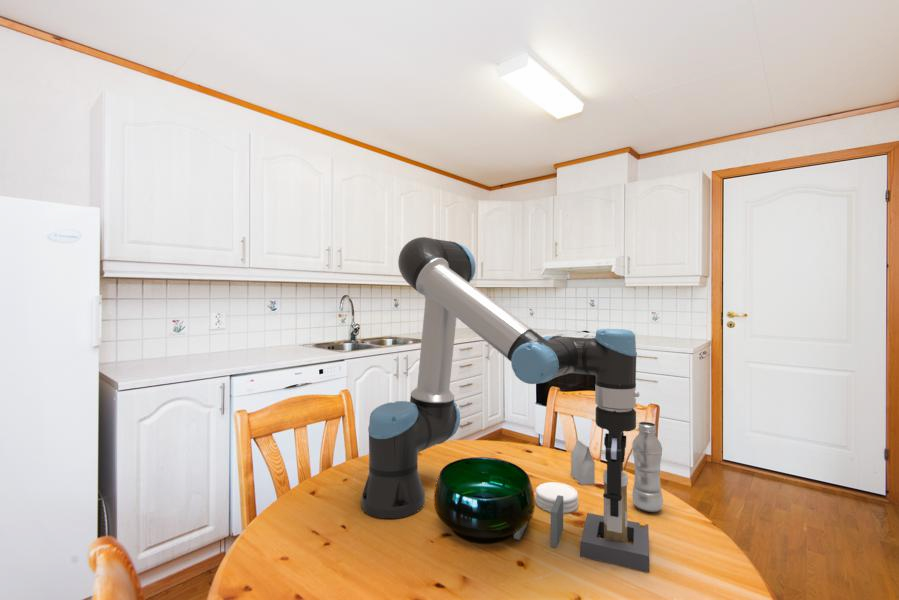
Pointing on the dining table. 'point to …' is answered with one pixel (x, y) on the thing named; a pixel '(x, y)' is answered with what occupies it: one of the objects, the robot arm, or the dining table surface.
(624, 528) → the sprinkles bottle
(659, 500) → the plastic bottle
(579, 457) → the grey gabled carton
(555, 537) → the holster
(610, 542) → the port block
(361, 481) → the dining table surface
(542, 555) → the dining table surface
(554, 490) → the white round stack
